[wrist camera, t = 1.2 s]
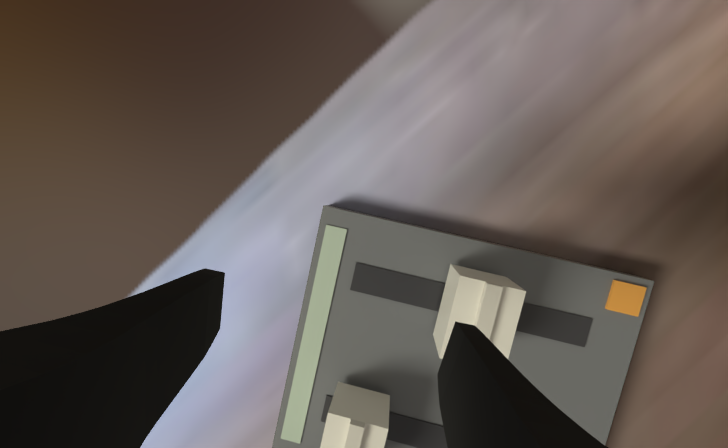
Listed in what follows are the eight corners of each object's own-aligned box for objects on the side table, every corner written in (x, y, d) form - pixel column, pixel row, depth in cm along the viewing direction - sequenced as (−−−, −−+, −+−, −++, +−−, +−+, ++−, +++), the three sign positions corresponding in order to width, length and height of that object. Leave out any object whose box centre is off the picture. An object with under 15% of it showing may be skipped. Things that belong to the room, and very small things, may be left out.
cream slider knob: (374, 460, 21) (369, 512, 17) (323, 446, 21) (309, 494, 17) (389, 395, 20) (388, 434, 17) (338, 381, 20) (326, 417, 17)
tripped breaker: (487, 347, 20) (506, 378, 16) (432, 334, 20) (440, 362, 16) (506, 276, 19) (529, 293, 16) (450, 263, 19) (461, 277, 16)
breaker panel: (565, 514, 22) (579, 541, 20) (279, 434, 23) (270, 453, 21) (635, 275, 20) (656, 282, 19) (328, 205, 22) (322, 205, 20)
